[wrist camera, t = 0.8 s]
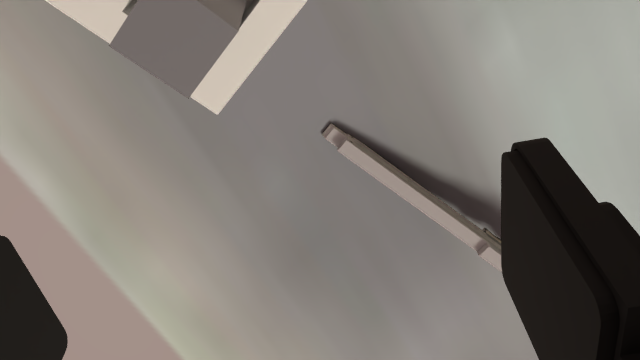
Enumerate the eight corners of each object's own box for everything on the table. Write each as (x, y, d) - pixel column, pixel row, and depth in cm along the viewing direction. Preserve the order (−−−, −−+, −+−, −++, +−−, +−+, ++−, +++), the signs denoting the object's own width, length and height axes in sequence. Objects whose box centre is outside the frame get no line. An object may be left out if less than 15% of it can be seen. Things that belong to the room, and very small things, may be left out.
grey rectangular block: (187, -64, 29) (156, -30, 23) (250, -15, 31) (238, 31, 24) (148, -3, 31) (108, 45, 24) (210, 40, 32) (188, 98, 26)
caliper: (540, 253, 44) (574, 311, 39) (530, 262, 44) (562, 321, 39) (330, 120, 37) (336, 169, 32) (320, 132, 37) (325, 183, 32)
